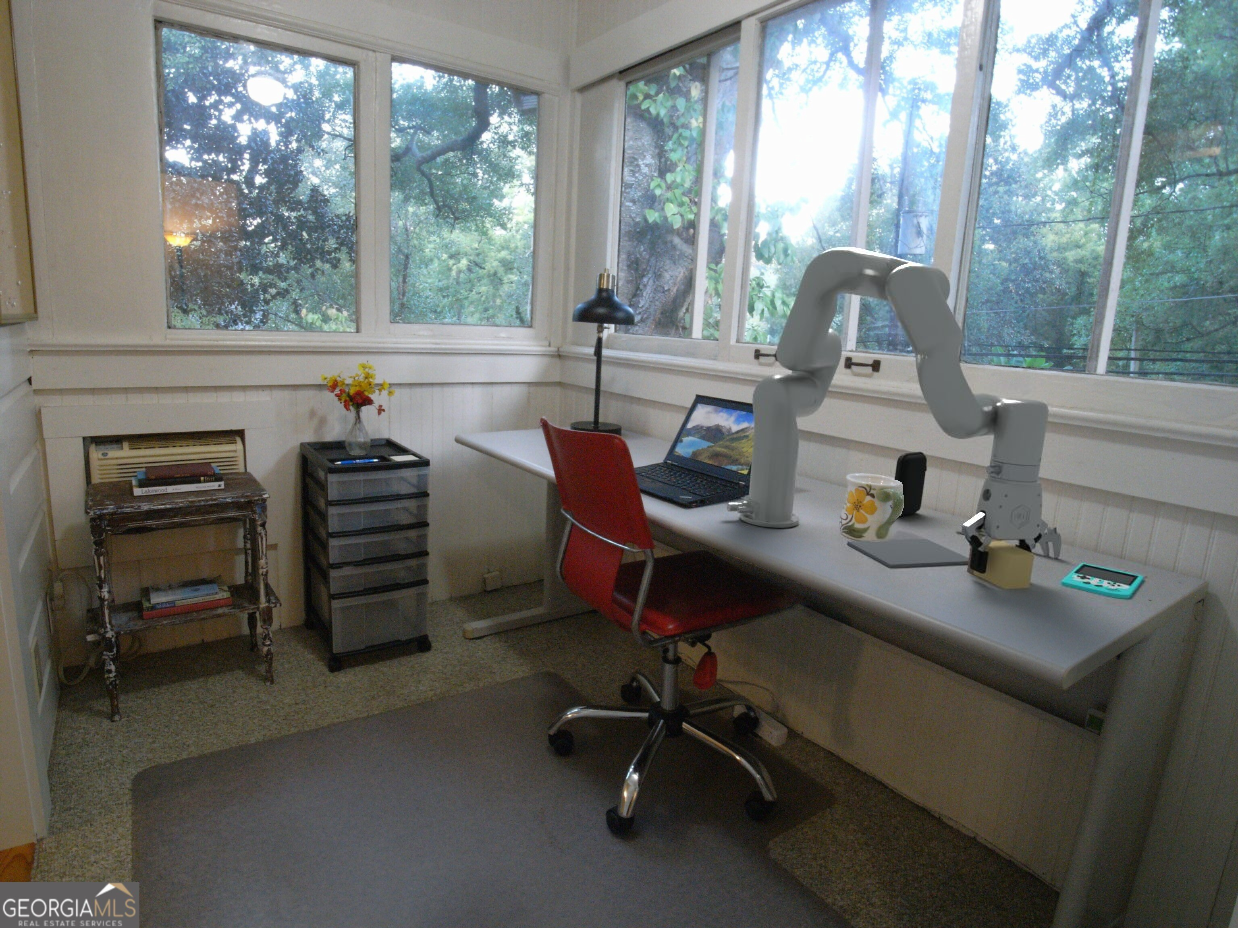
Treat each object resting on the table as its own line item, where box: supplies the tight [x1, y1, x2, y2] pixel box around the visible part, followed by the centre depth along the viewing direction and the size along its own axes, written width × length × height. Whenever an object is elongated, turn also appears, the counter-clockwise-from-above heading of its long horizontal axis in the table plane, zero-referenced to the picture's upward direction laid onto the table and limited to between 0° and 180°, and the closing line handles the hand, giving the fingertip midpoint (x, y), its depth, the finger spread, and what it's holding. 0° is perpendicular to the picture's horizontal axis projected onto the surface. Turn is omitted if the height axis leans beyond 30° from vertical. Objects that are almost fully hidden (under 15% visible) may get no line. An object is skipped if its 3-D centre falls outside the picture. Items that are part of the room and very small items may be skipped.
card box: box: [966, 537, 1035, 590], centre depth 129 cm, size 5×9×6 cm, turn 15°
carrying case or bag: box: [894, 451, 928, 517], centre depth 171 cm, size 11×3×15 cm, turn 126°
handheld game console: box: [1060, 562, 1144, 599], centre depth 131 cm, size 10×16×1 cm, turn 137°
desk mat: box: [846, 538, 969, 569], centre depth 142 cm, size 18×14×1 cm
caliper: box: [955, 526, 1062, 560], centre depth 151 cm, size 20×1×6 cm, turn 38°
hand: (998, 569), depth 130 cm, fingers open, 8 cm apart
